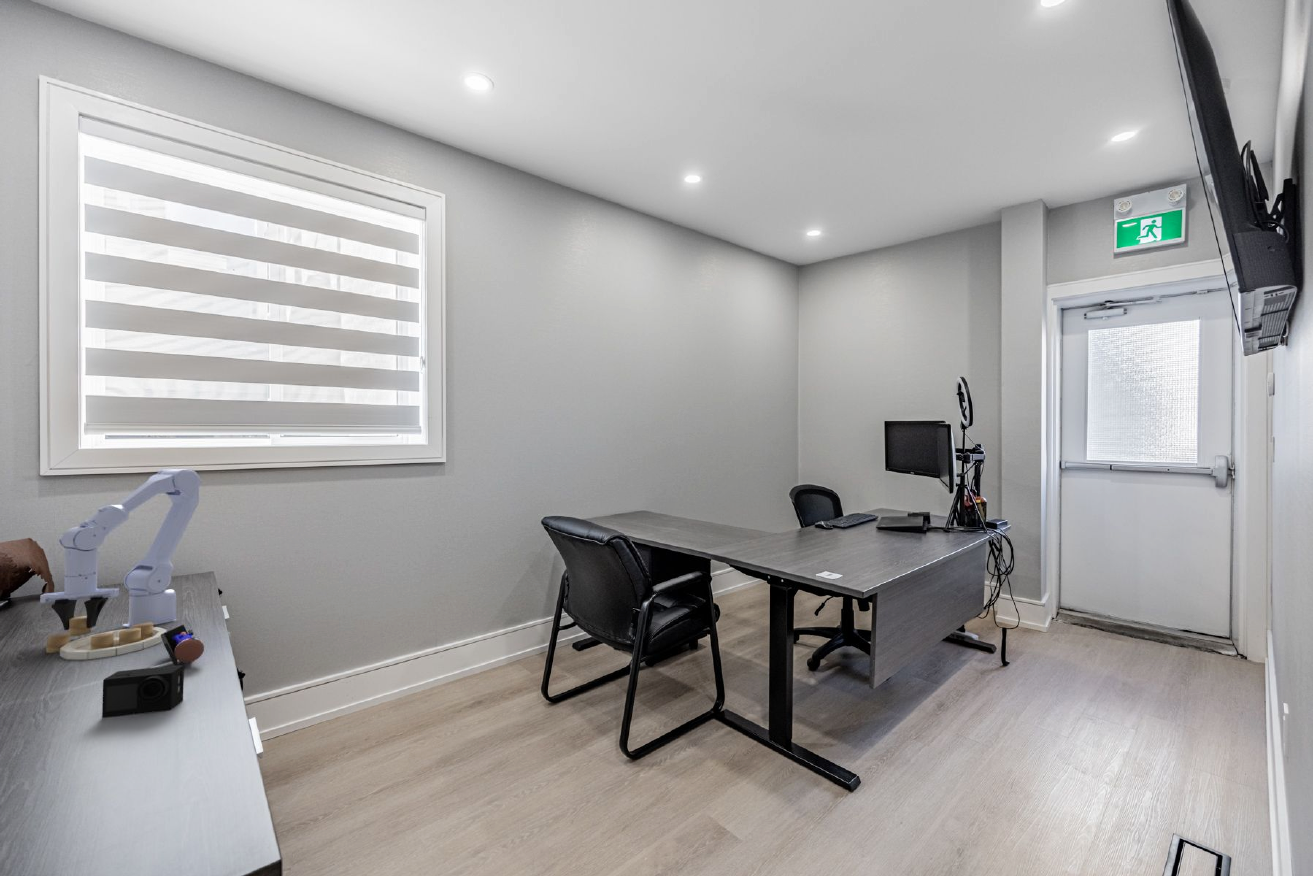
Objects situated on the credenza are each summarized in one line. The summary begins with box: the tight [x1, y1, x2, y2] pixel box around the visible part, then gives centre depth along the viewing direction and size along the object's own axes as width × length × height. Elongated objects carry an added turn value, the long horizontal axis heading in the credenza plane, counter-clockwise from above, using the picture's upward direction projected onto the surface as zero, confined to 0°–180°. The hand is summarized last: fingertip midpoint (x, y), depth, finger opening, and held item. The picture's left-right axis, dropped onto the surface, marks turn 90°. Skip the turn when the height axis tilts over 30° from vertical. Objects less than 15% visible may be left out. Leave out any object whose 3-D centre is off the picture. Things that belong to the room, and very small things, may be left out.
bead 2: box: [68, 615, 92, 637], centre depth 138 cm, size 4×4×4 cm
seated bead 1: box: [90, 632, 114, 650], centre depth 129 cm, size 4×4×4 cm
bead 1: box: [45, 632, 71, 654], centre depth 130 cm, size 4×4×4 cm
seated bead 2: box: [119, 628, 141, 646], centre depth 132 cm, size 4×4×4 cm
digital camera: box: [101, 664, 185, 719], centre depth 101 cm, size 10×5×7 cm, turn 107°
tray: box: [59, 626, 168, 660], centre depth 133 cm, size 18×18×2 cm
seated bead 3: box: [132, 622, 154, 641], centre depth 137 cm, size 4×4×4 cm
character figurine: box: [161, 624, 205, 666], centre depth 124 cm, size 8×7×15 cm
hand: (80, 627), depth 138 cm, fingers closed on bead 2, 4 cm apart
